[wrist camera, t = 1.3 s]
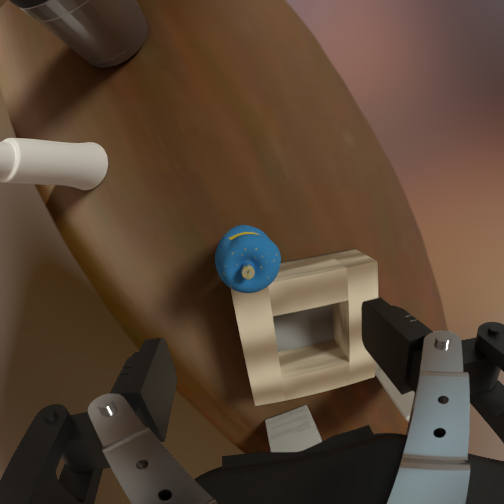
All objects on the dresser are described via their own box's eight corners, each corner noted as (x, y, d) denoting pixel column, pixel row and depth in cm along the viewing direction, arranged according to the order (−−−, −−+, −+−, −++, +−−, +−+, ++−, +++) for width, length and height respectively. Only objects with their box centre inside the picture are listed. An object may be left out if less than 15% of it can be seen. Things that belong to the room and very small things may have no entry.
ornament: (267, 219, 35) (295, 244, 20) (257, 261, 36) (278, 313, 21) (223, 210, 34) (220, 229, 19) (215, 253, 35) (206, 301, 20)
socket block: (230, 271, 36) (230, 289, 30) (354, 249, 36) (377, 261, 30) (251, 377, 39) (255, 405, 33) (357, 353, 40) (374, 376, 34)
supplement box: (278, 442, 43) (290, 498, 31) (263, 418, 42) (274, 479, 29) (318, 428, 43) (338, 483, 31) (307, 403, 41) (329, 461, 29)
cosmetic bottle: (116, 172, 32) (-13, 167, 10) (80, 199, 32) (-53, 224, 11) (96, 133, 30) (-29, 93, 9) (62, 160, 31) (-69, 153, 9)
